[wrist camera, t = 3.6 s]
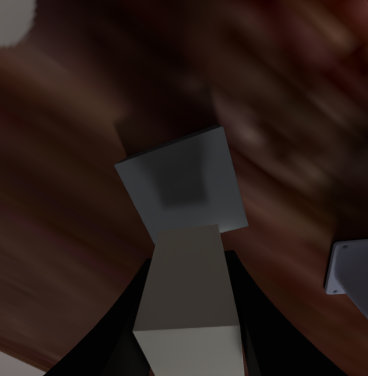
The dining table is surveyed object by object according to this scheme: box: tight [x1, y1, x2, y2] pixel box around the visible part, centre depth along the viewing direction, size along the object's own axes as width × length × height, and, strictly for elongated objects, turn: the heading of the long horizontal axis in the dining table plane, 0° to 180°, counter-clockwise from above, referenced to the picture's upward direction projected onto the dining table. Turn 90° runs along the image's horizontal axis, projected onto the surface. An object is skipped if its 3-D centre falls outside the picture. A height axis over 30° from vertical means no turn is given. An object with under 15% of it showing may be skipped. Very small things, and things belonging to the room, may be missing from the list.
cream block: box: [133, 224, 244, 376], centre depth 10 cm, size 4×4×6 cm
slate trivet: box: [114, 124, 248, 246], centre depth 16 cm, size 9×9×3 cm
